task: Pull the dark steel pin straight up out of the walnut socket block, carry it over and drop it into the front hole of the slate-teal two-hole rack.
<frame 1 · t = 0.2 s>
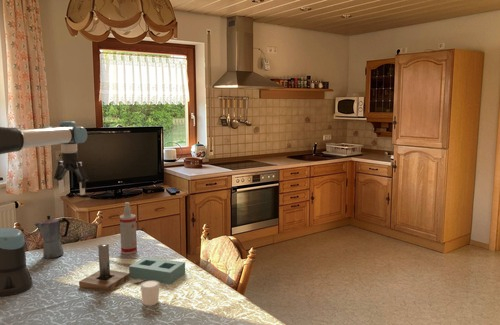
hand: (72, 193, 215), 28 cm above the table, fingers open, 13 cm apart
socket block: (105, 282, 173), on the table
shot glass: (150, 302, 156), on the table
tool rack: (157, 275, 181), on the table
moka pot: (54, 255, 205), on the table
white plastic bottle: (129, 251, 211), on the table
steel pin: (104, 264, 172), in the socket block
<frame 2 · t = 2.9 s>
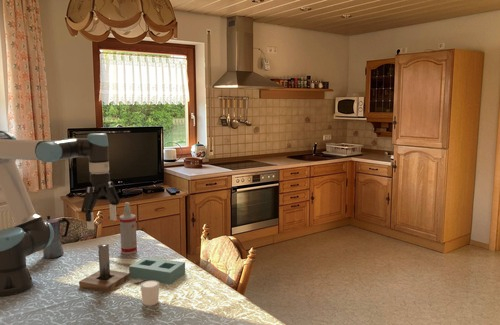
hand: (102, 224, 170), 25 cm above the table, fingers open, 13 cm apart
nothing on the table moved.
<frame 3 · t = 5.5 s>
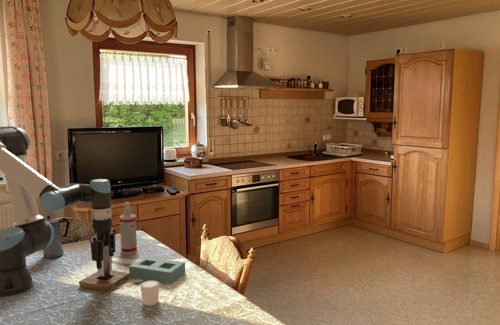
hand: (104, 273, 173), 4 cm above the table, fingers closed on steel pin, 4 cm apart
steel pin: (104, 264, 172), in the socket block, touching gripper
everything else where it was.
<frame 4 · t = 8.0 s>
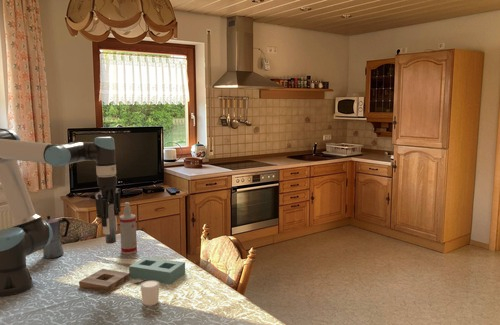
hand: (110, 232, 171), 21 cm above the table, fingers closed on steel pin, 4 cm apart
steel pin: (109, 223, 171), point 25 cm above the table, touching gripper
everything else where it was.
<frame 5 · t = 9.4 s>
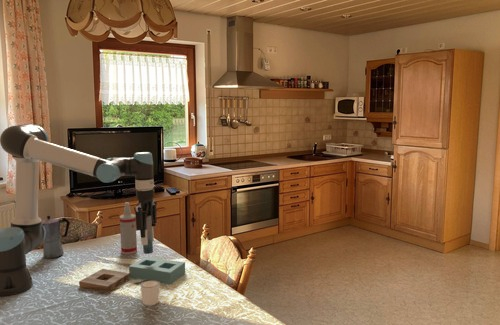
hand: (147, 242, 180), 14 cm above the table, fingers closed on steel pin, 4 cm apart
steel pin: (147, 234, 180), point 18 cm above the table, touching gripper
everything else where it was.
when the fingers open (7 cm above the table, at t = 10.5 s): steel pin drops 2 cm, resting in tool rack.
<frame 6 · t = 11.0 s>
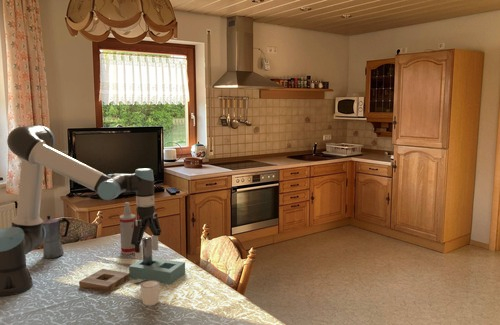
hand: (147, 254, 181), 9 cm above the table, fingers open, 11 cm apart
steel pin: (147, 256, 181), in the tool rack
everything else where it was.
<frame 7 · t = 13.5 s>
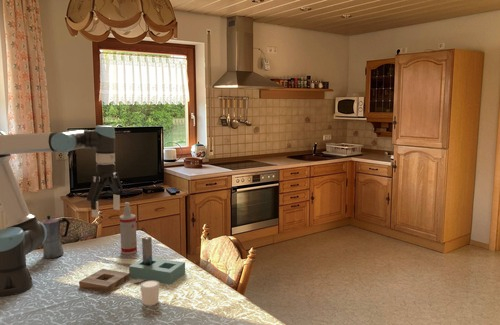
hand: (106, 213, 177), 27 cm above the table, fingers open, 13 cm apart
nothing on the table moved.
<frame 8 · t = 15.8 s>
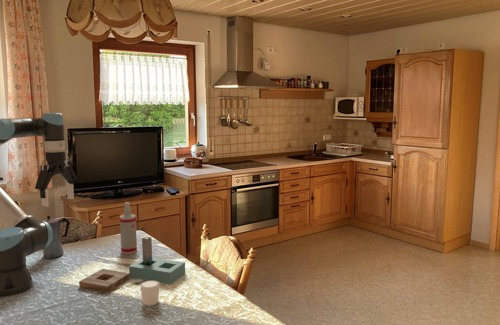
hand: (58, 202, 174), 33 cm above the table, fingers open, 13 cm apart
nothing on the table moved.
at the end: steel pin 0.1 cm from the target spot on the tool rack, point 8.0 cm above the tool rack's base; steel pin tilted 0°; the gripper is holding nothing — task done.
